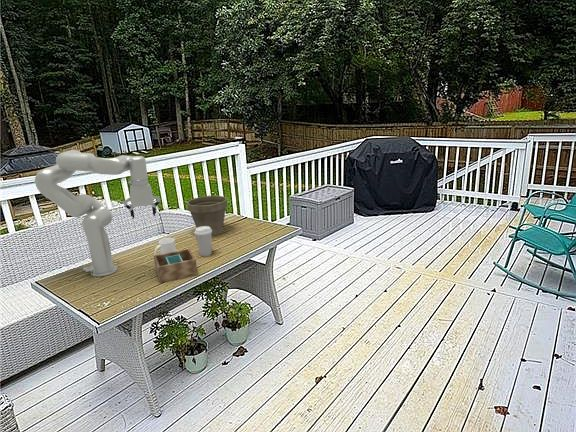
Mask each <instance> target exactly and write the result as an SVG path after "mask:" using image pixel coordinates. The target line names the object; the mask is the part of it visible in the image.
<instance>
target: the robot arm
mask: <svg viewBox="0 0 576 432" xmlns="http://www.w3.org/2000/svg"><path fill="white" fill-rule="evenodd" d="M128 171H129V174H130V175H129V176H130V180H127V184H130V186H129V187H130V188H129V194H130V196H129V198H127V199H125V200H123V201H122V204H123V205H124V206H125V208H126V209H128V210H129V211H130V216H131V217H132V219H135V211H134V208H137V207H138V208H139V207H147V206H152V207H151V209H152V210H151V211H152V215H153V216H154V217H155V216H156V214H157V206H158V205H159V204H160V202H161V197H159V196H157V195H154V194H153V191H152V186H151V184H150V183H149V180H148V179H149V177H148V170H147V160H146V158H145V156H142V155H135V156H133V155H132V156H131V155H127V154H126V155H125V154H122V155H118V156H116V157H113V158H106V157H104V158H103V157H97V156H96V155H95V154H93V153H90V152H87V153H86V152H81V151H79V150H76V149H70V150H67V151H63V152H60V153H59V154H58V155H57V156H56V157H55V164H54V165H52V166H48V167H45V168H43V169H41V170H39V171H38V172H37V173H36V175H35V178H34V183H35V186H36V189H37V191H38V192H39V193H40V194H41V195H42V196H44V197H45V198H47V199H48V200H49V201H51V202H53V203H54V204H55V205H56V206H58V207H59V208H60V209H61V210H63V211H64V212H65V213H67V214H68V215H69V216H71V217H72V218H76V219H77V218H80V217H83V216H84V215H86V216H84V217H83V219H82V221H81V227H82V230H83V232H84V234H85V236H86V241H87V246H88V249H89V254H90V259H91V264H90V265H89V266H85V267H83V268H82V269H83V272H86V273H88V272H90V275H91V276H92V277H96V278H97V277H100V278H101V277H107V276H109V275H112V274H114V273H115V272H117V270H118V265H116V264H114V260H113V256H112V250H111V245H110V240H109V235H108V233H107V232H106V230H105V228H106V227H107V226H108V225H109V224H111V223H112V222H113V221H112V220H113V214H112V212H111V210H109V209H108V208H107V206H105V205H104V204H102V203H101V202H100V201H99V200H97V199H95V198H94V197H93V196H92V195H89V194H84V193H81V194H79V195H75V194H74V193H72V192H71V191H69V190H68V189H67V188H65V187H62V186H60V185H58V184H60V183H62V182H65V181H67V180H68V179H69V178H70V177H71V176H72V175H73V174H74V173H76V172H92V173H94V174H98V175H109V176H110V175H111V176H115V175H121V174H123V173H125V172H128ZM154 200H156V201H155V203H154ZM129 202H130V205H129V204H128V203H129Z"/></svg>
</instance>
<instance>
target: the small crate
mask: <svg viewBox="0 0 576 432" xmlns="http://www.w3.org/2000/svg"><path fill="white" fill-rule="evenodd" d="M165 258H166V265H168V264H173V263H177V262H182V261H183V260H182V258H181V256H180V255H179V254H178V255H173V256H168V257H165Z"/></svg>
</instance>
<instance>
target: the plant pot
mask: <svg viewBox="0 0 576 432" xmlns="http://www.w3.org/2000/svg"><path fill="white" fill-rule="evenodd" d="M186 206H187V210H188V211H189V212H190V215H191V217H192V219H193V222H194V225H195V229H196V228H198V227H201V226H209V227H210V228H211V229H212V232H211V237H214V236H217V235H219V234H221V233H222V232H223V228H224V224H225V218H226V217H225V216H226V209H227V207H228V198H227V197H225V196H223V195H221V196H220V195H207V196H206V195H205V196H200V197H194V198H191V199H189V200H188V201H187V202H186Z"/></svg>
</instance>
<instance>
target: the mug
mask: <svg viewBox="0 0 576 432" xmlns="http://www.w3.org/2000/svg"><path fill="white" fill-rule="evenodd" d="M158 250H159V252H160V254H165V253H170V252H175V251H177V248H176V240H175V238H172V237H165V238H162V239H160V240H159V241H158V245H157V246H156V247H155V248H154V256H155V255H159V254H158Z"/></svg>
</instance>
